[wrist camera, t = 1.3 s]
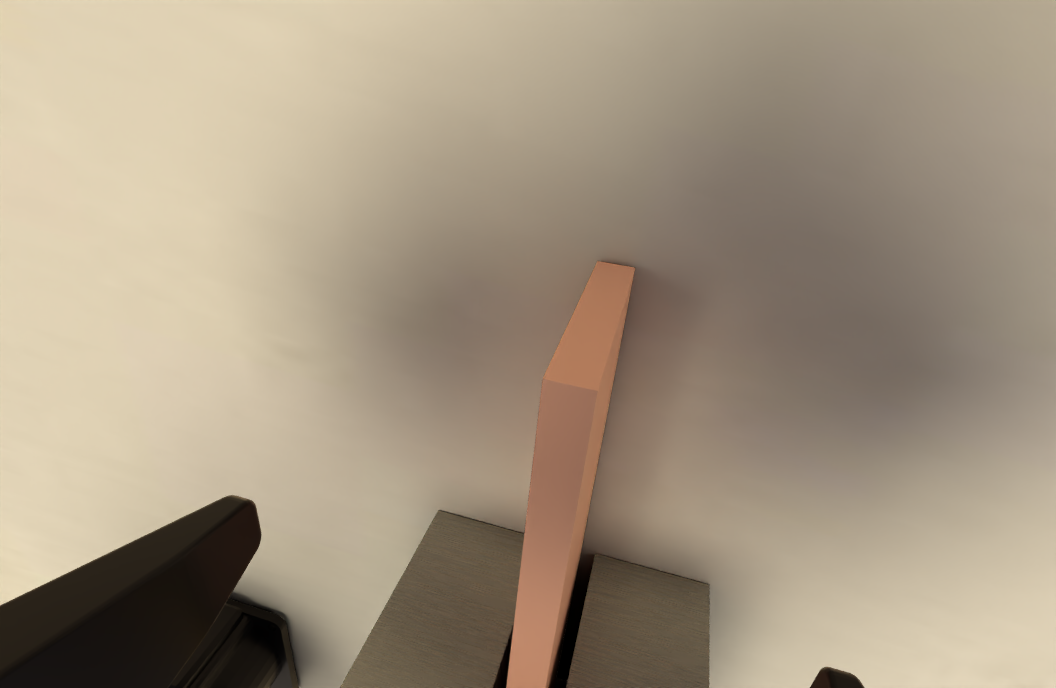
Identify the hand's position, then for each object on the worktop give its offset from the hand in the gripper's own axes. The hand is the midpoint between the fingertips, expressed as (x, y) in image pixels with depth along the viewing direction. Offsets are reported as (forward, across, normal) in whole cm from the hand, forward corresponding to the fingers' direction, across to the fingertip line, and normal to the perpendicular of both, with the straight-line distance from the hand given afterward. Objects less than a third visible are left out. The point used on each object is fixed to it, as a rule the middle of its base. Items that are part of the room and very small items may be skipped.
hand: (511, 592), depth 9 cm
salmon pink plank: (+9, 0, +7) cm, 11 cm away
